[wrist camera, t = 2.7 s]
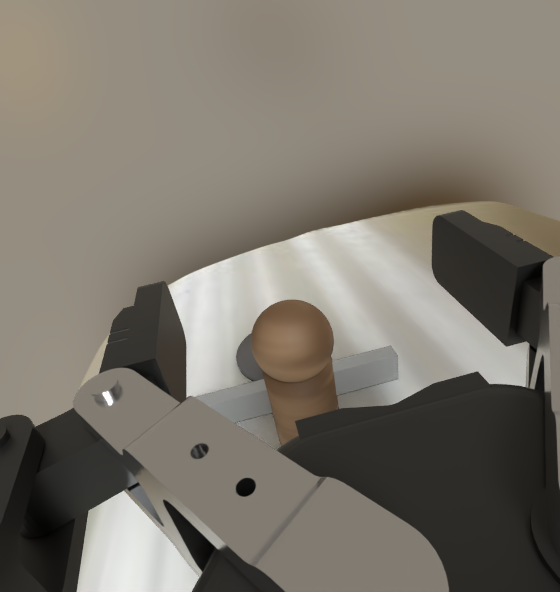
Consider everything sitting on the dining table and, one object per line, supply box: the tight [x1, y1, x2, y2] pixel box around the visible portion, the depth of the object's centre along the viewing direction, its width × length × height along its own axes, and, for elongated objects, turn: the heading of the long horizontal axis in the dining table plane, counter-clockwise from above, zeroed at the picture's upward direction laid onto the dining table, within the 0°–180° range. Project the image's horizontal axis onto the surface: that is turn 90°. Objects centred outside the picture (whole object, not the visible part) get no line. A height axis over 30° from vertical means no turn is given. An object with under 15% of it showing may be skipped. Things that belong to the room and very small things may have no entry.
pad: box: [236, 333, 264, 381], centre depth 47 cm, size 10×10×1 cm
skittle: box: [251, 300, 339, 446], centre depth 31 cm, size 5×5×16 cm
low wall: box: [195, 346, 398, 423], centre depth 40 cm, size 20×2×3 cm, turn 100°
